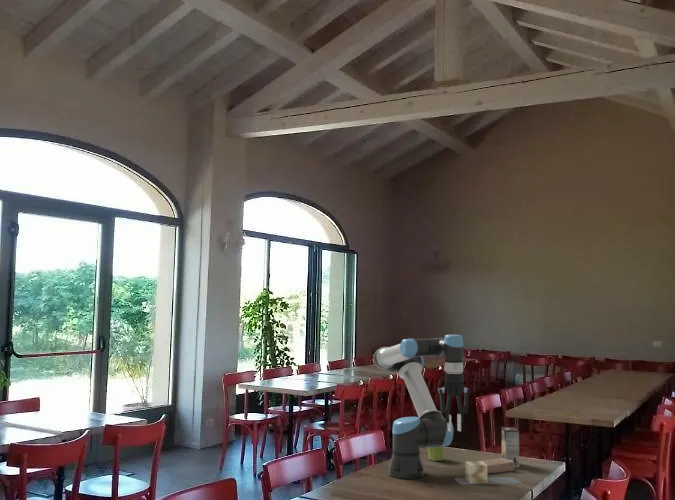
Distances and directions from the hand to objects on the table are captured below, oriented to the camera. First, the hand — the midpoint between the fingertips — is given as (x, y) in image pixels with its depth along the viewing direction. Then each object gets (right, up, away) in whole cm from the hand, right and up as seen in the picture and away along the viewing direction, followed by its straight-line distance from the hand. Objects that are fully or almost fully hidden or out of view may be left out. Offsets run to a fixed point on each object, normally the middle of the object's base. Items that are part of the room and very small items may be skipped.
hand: (454, 430), depth 284 cm
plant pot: (-2, -24, +38) cm, 45 cm away
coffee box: (+30, -23, +29) cm, 47 cm away
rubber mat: (+14, -21, 0) cm, 25 cm away
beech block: (+9, -20, -1) cm, 22 cm away
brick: (+20, -23, +18) cm, 35 cm away
